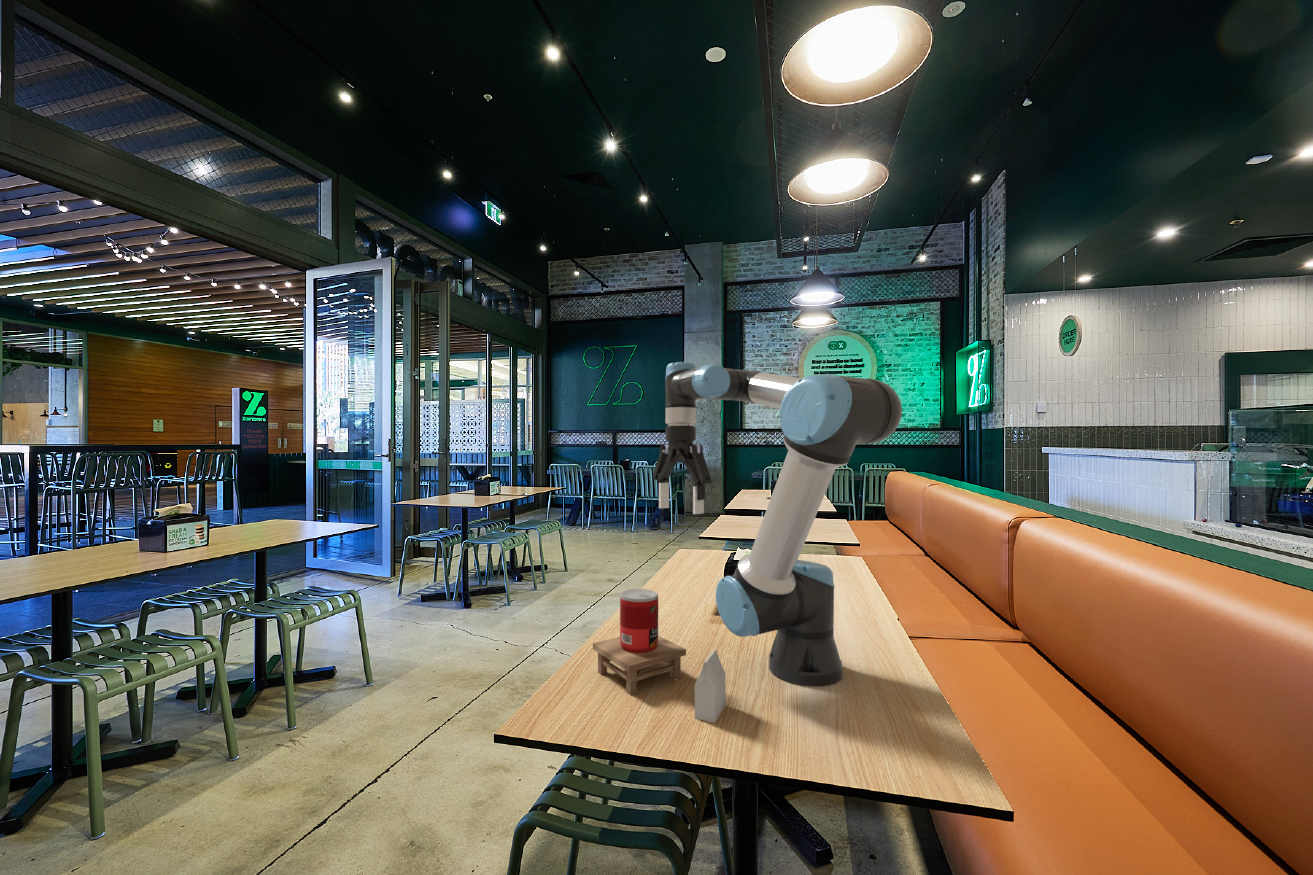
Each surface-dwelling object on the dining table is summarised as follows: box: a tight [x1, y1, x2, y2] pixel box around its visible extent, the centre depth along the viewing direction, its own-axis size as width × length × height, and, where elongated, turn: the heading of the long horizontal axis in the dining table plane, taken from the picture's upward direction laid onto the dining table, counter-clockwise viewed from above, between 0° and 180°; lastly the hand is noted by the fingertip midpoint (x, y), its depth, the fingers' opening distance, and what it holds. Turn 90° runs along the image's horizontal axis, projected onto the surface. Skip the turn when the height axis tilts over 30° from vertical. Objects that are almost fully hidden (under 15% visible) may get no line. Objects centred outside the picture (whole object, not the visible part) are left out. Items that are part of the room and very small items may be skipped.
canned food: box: [619, 588, 659, 653], centre depth 110 cm, size 8×8×11 cm
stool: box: [592, 635, 687, 695], centre depth 110 cm, size 14×14×6 cm
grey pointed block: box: [694, 649, 726, 724], centre depth 95 cm, size 4×7×10 cm, turn 157°
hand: (680, 510), depth 131 cm, fingers open, 13 cm apart
